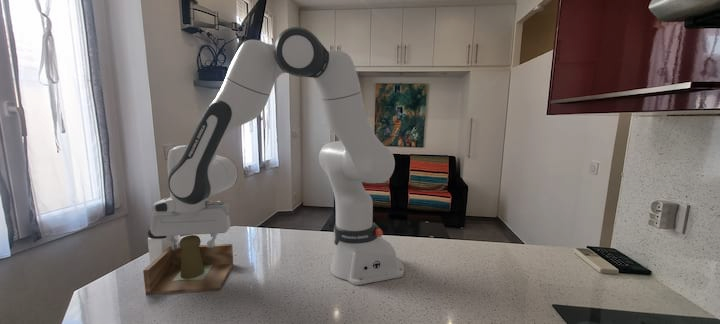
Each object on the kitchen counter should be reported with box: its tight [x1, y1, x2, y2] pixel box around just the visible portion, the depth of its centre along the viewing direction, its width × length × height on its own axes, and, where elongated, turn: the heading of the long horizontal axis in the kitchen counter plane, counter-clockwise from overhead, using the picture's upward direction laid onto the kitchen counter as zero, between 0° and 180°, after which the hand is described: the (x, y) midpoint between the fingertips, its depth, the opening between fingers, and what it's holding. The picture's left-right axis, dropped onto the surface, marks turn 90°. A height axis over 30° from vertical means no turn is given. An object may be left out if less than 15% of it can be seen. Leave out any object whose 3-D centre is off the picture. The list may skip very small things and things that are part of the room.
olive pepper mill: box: [179, 234, 204, 279], centre depth 85 cm, size 6×6×11 cm
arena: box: [142, 243, 234, 296], centre depth 85 cm, size 18×14×7 cm
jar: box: [147, 226, 182, 265], centre depth 94 cm, size 9×8×12 cm
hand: (194, 248), depth 86 cm, fingers open, 8 cm apart
